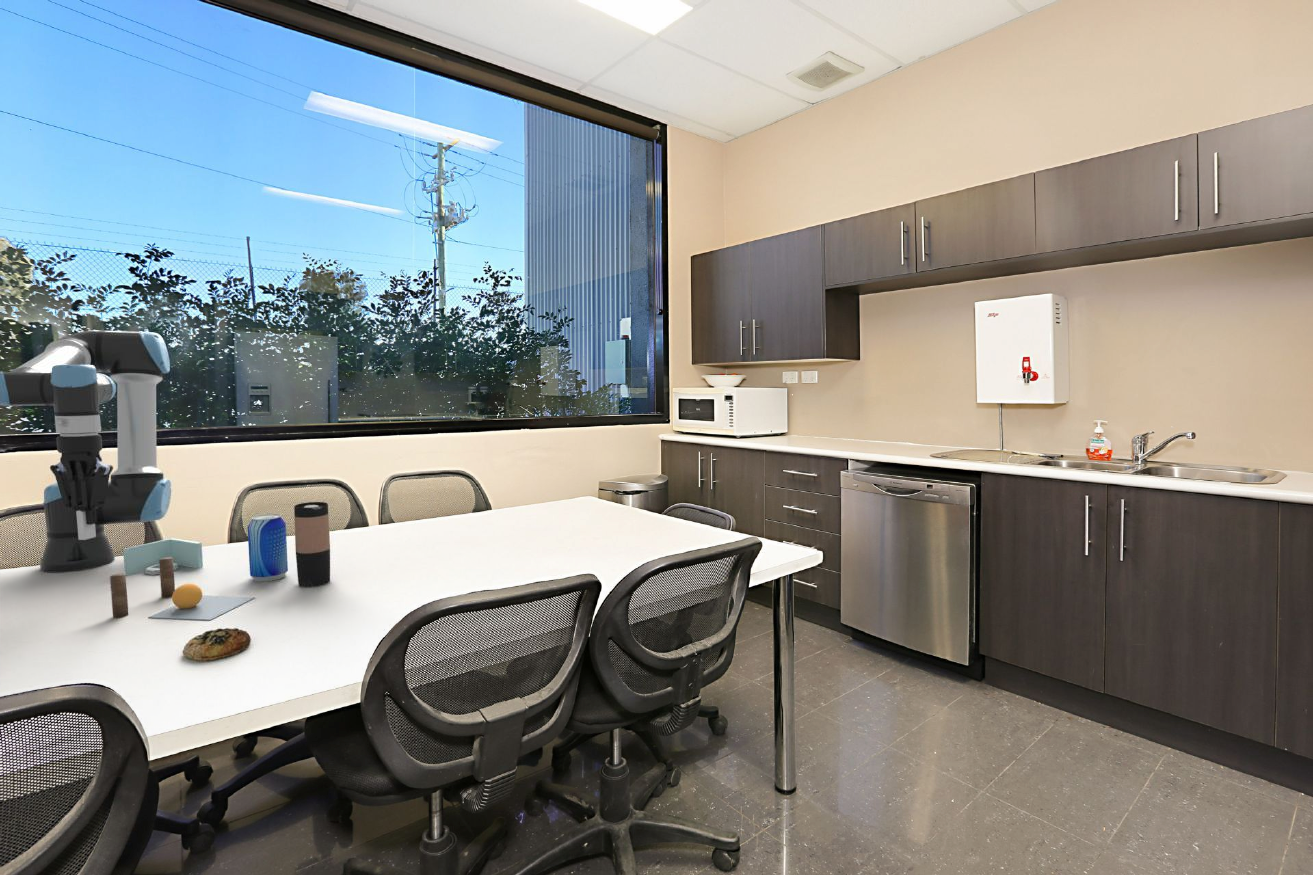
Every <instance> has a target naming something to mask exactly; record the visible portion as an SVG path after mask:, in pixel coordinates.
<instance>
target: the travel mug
mask: <svg viewBox="0 0 1313 875" xmlns="http://www.w3.org/2000/svg"><path fill="white" fill-rule="evenodd" d="M293 509H294V512H293V513H294V538H295V539H294V540H295V544H294V545H295V558H296V559H295V560H296V572H297V584H298V587H301V588H316V587H321V585H322V586H325V585H328V584H329V583H330V582H331V537H330V523H329V522H330V520H329V519H330V518H329V504H328V503H327V502H325V501H312V502H311V501H310V502H308V501H307V502H303V503H301V502H300V503H298V504H295V505H294V506H293ZM328 582H329V583H328Z"/></svg>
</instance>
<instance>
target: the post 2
mask: <svg viewBox="0 0 1313 875" xmlns="http://www.w3.org/2000/svg"><path fill="white" fill-rule="evenodd" d="M159 565H160V574H159V575H160V576H159V579H160V595H161V598H162V599H166V598H172V595H173V592H174V591H175V590H176V587H175V586H176V585H175V570H174V566H173V557H165V558H161V559H159Z"/></svg>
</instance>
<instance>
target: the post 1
mask: <svg viewBox="0 0 1313 875" xmlns="http://www.w3.org/2000/svg"><path fill="white" fill-rule="evenodd" d="M109 579H110V580H109V581H110V582H109V583H110V593H111V597H110V598H111V610H112V618H113V619H117V618H118V619H119V618H124V617H128V616H129V603H128V589H127V575H126V574H125V572H121V573H120V572H119V573H115V574H111V575H110V576H109Z"/></svg>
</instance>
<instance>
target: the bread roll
mask: <svg viewBox="0 0 1313 875" xmlns="http://www.w3.org/2000/svg"><path fill="white" fill-rule="evenodd" d="M251 639H252V638H251V636H250V634H249V632H247V631H246V630H243V629H239V628H238V627H234V628H228V627H227V628H216V629H214V630H213V629H210V630H207V631H204V632H203V633H202V634H198V635H196V636H194V637H192V638H190V639H189V640H188V642H187V643H186V644H185V645H184V646H183V650H182V655H183V656H184V657H185V658H186V659H188V660H191V661H199V662H212V661H213V662H214V661H218V660H222V659H225V658H228V657H231V656H235V655H237V654H240V653H242V652H243V651H245V650H246V649H248V647H249V646H250V644H251Z"/></svg>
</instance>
